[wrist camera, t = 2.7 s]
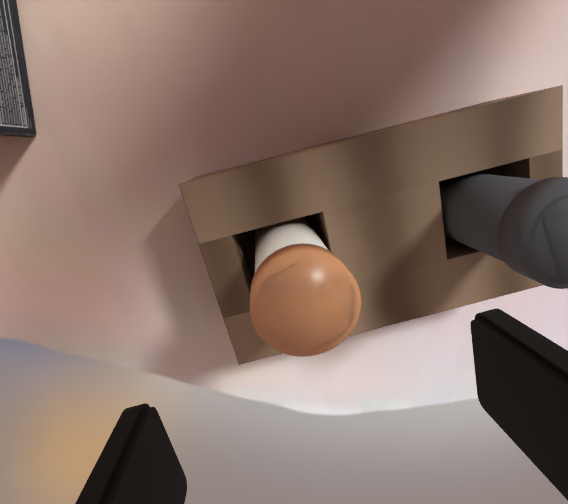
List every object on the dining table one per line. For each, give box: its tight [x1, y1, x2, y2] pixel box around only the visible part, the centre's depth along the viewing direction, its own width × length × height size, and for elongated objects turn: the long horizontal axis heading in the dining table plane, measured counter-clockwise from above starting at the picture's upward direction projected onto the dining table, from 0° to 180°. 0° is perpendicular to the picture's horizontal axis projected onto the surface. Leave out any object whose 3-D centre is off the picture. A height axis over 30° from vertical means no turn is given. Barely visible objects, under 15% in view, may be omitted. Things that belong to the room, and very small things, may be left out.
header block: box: [179, 85, 563, 365], centre depth 23 cm, size 22×12×6 cm, turn 104°
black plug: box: [439, 173, 568, 289], centre depth 20 cm, size 5×5×12 cm
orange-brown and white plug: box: [250, 217, 361, 356], centre depth 20 cm, size 5×5×12 cm
